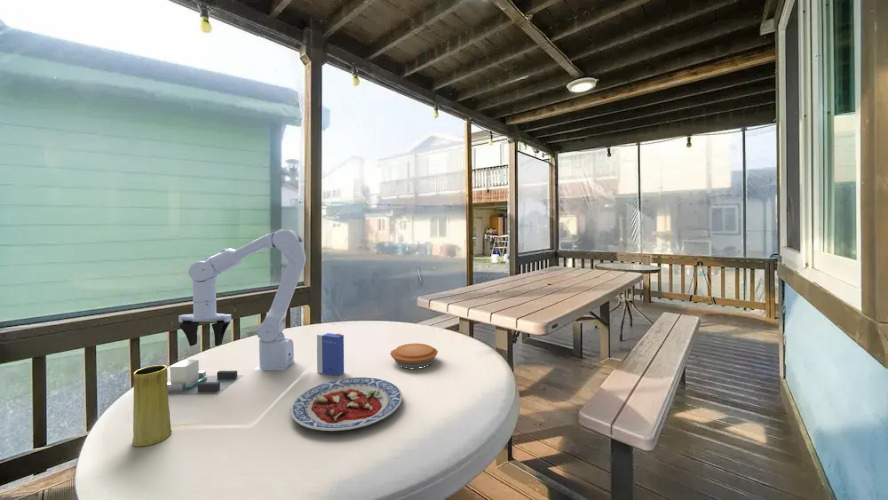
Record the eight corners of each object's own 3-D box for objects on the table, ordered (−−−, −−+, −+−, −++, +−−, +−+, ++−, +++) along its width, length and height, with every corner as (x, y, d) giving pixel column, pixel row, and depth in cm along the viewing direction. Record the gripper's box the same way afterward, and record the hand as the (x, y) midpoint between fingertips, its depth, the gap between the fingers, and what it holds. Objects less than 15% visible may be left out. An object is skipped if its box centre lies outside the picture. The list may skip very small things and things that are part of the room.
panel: (243, 377, 99) (243, 375, 99) (217, 396, 87) (217, 394, 87) (188, 377, 99) (188, 375, 99) (154, 397, 87) (154, 394, 87)
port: (209, 377, 97) (209, 370, 97) (186, 391, 88) (186, 384, 88) (184, 377, 97) (184, 371, 97) (158, 392, 88) (158, 384, 88)
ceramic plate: (294, 454, 64) (294, 438, 64) (287, 397, 87) (287, 385, 87) (418, 420, 76) (418, 407, 76) (384, 378, 99) (384, 368, 99)
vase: (178, 432, 71) (176, 366, 70) (144, 450, 65) (142, 377, 65) (159, 427, 73) (157, 362, 72) (124, 443, 67) (122, 373, 67)
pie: (446, 360, 113) (446, 345, 113) (419, 376, 100) (418, 359, 100) (410, 351, 122) (410, 338, 122) (380, 365, 109) (380, 350, 109)
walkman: (344, 372, 103) (343, 333, 102) (338, 376, 100) (338, 336, 100) (323, 369, 105) (322, 331, 105) (316, 372, 103) (316, 333, 102)
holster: (237, 377, 98) (237, 370, 97) (217, 391, 89) (216, 384, 88) (219, 377, 97) (219, 370, 97) (197, 391, 88) (197, 384, 88)
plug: (199, 380, 95) (198, 359, 95) (186, 388, 90) (185, 366, 90) (184, 380, 95) (183, 359, 95) (170, 388, 90) (170, 366, 90)
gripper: (170, 303, 98) (171, 349, 98) (220, 303, 98) (221, 349, 99) (188, 298, 105) (189, 341, 105) (235, 298, 105) (236, 341, 106)
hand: (205, 345), depth 102 cm, fingers open, 7 cm apart
